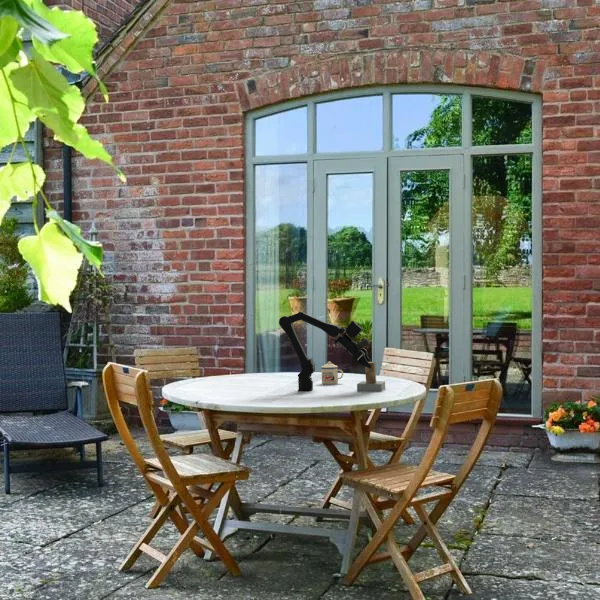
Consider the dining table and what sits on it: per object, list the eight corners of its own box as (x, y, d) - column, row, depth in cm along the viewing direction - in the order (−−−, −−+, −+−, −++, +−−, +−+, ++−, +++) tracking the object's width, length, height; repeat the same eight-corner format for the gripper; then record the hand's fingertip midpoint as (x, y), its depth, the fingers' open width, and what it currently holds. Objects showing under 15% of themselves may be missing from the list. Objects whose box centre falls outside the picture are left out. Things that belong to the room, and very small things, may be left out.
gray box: (357, 392, 411) (357, 384, 411) (361, 389, 423) (361, 381, 423) (381, 392, 408) (381, 384, 408) (385, 389, 420) (385, 381, 420)
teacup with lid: (319, 384, 446) (318, 362, 446) (324, 382, 455) (323, 360, 455) (341, 384, 443) (340, 362, 442) (345, 382, 451) (345, 360, 451)
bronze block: (366, 383, 414) (365, 362, 414) (367, 382, 418) (366, 362, 418) (375, 383, 413) (374, 362, 413) (376, 382, 417) (375, 361, 417)
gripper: (358, 333, 407) (381, 356, 405) (361, 331, 425) (384, 353, 424) (342, 350, 409) (365, 373, 407) (346, 347, 427) (369, 369, 425)
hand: (371, 366), depth 416 cm, fingers open, 9 cm apart
